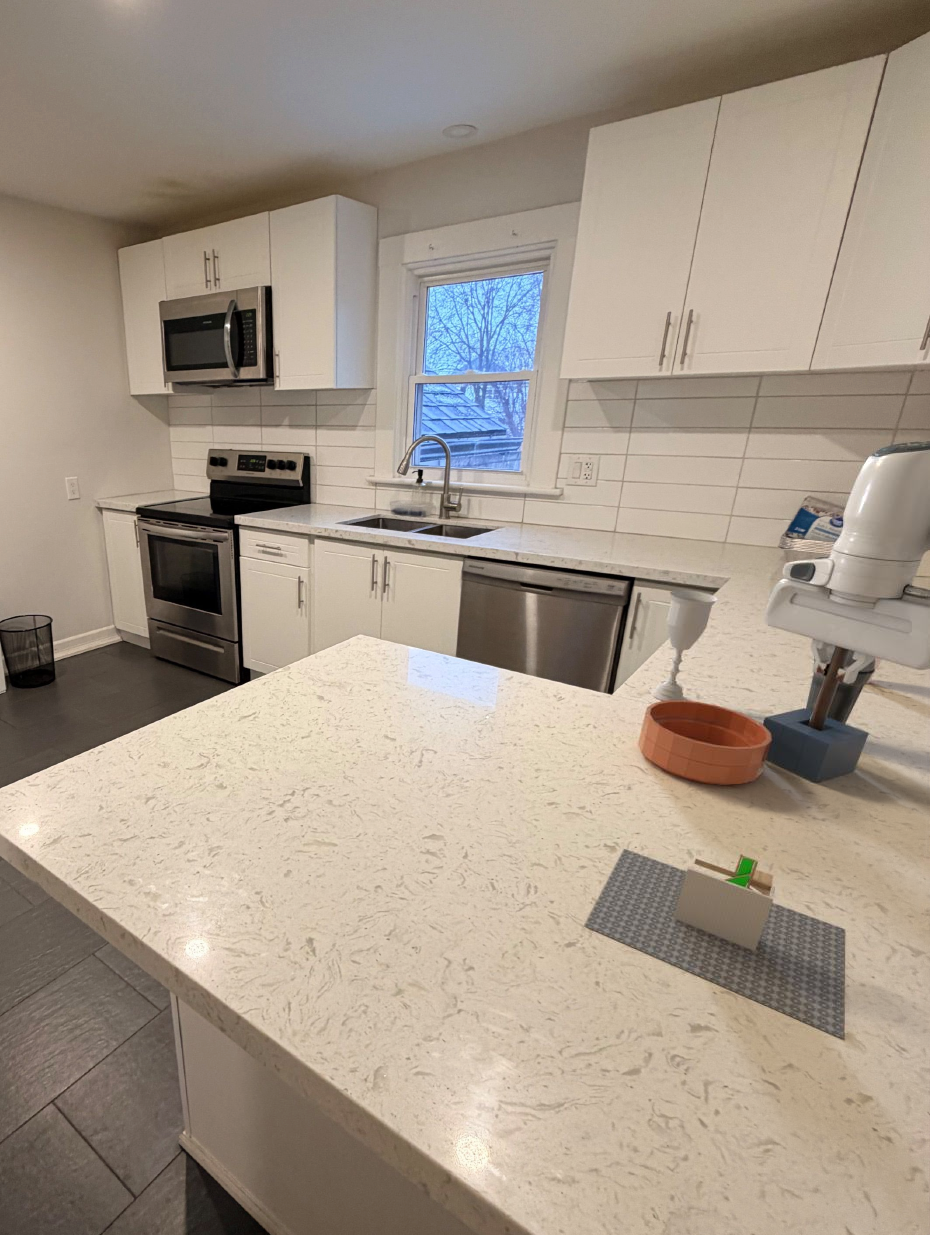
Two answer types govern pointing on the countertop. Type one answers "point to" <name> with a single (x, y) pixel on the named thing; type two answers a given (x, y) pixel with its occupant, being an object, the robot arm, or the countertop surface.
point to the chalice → (683, 633)
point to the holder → (813, 745)
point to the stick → (828, 688)
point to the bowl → (704, 742)
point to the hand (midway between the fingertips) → (832, 677)
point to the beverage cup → (840, 689)
